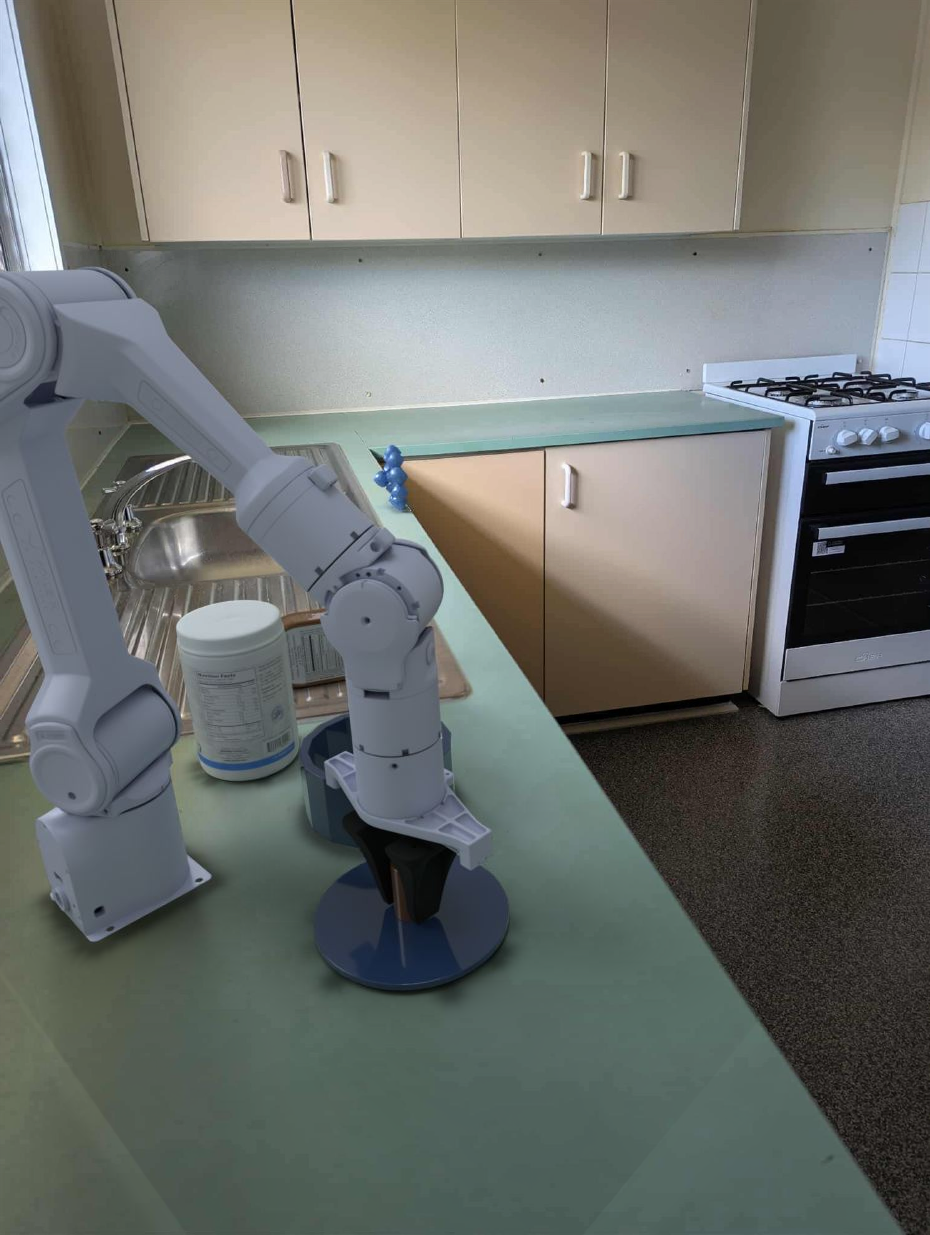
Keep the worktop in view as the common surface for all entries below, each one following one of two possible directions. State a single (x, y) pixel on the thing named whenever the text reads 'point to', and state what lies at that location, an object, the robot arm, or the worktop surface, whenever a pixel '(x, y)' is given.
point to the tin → (310, 650)
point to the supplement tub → (239, 688)
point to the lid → (410, 929)
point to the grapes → (393, 477)
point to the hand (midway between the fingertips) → (411, 905)
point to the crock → (333, 803)
